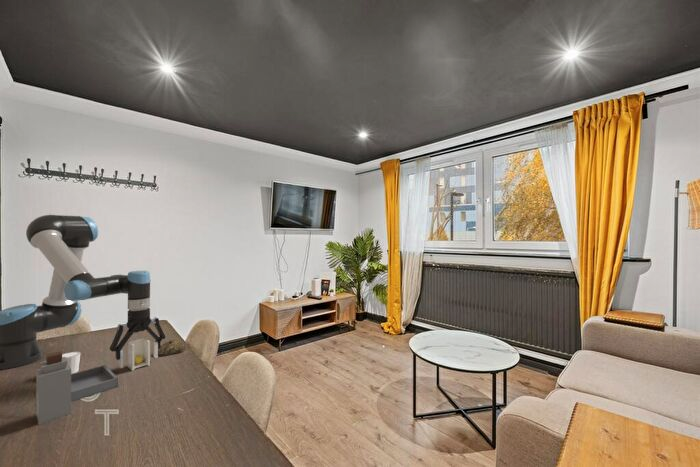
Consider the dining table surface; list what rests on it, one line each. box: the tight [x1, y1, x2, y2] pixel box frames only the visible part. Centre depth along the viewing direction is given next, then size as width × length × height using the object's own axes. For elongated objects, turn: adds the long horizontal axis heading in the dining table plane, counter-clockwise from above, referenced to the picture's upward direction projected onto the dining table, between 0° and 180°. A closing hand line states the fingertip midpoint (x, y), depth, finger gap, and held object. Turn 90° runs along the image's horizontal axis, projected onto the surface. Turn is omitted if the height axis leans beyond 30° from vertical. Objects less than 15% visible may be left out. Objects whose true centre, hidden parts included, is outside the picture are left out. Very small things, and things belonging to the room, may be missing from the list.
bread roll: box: [152, 339, 186, 357], centre depth 138 cm, size 13×12×5 cm
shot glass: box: [62, 351, 81, 374], centre depth 116 cm, size 7×7×7 cm
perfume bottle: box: [35, 350, 72, 425], centre depth 89 cm, size 7×7×18 cm
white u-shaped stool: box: [127, 337, 151, 372], centre depth 121 cm, size 6×6×10 cm
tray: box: [71, 364, 119, 403], centre depth 104 cm, size 18×16×3 cm
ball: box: [134, 355, 143, 364], centre depth 122 cm, size 3×3×3 cm
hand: (138, 361), depth 121 cm, fingers open, 11 cm apart
